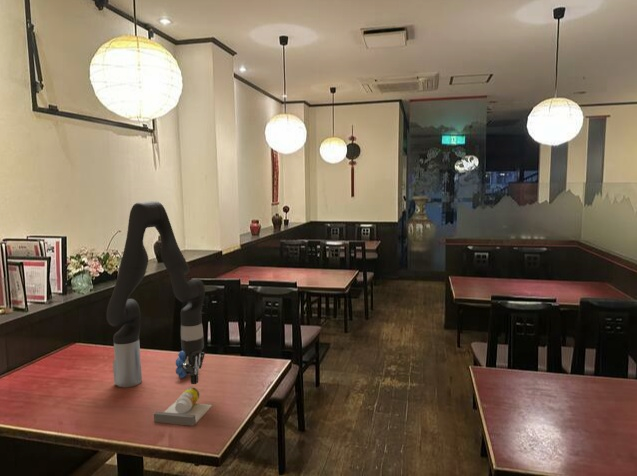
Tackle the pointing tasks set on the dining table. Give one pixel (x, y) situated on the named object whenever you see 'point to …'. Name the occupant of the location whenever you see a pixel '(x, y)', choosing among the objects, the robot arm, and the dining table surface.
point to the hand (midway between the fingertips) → (194, 383)
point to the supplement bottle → (187, 400)
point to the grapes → (178, 363)
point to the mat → (182, 415)
